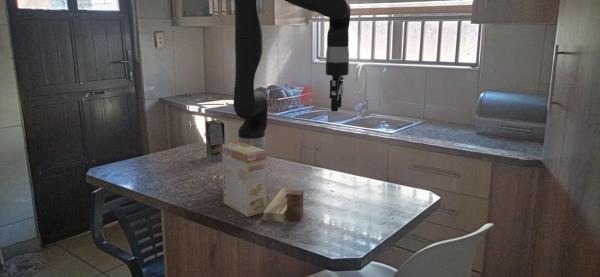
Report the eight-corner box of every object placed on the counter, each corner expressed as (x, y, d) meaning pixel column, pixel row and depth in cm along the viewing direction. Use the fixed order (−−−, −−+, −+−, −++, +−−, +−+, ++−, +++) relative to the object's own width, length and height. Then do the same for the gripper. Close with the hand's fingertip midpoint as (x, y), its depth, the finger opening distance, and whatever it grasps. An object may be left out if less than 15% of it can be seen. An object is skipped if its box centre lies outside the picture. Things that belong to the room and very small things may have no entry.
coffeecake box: (267, 212, 146) (266, 150, 142) (247, 217, 142) (245, 153, 138) (242, 198, 158) (240, 140, 153) (222, 203, 153) (220, 143, 149)
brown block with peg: (283, 219, 141) (283, 193, 139) (287, 214, 145) (287, 189, 143) (300, 220, 140) (300, 194, 138) (303, 215, 144) (303, 190, 142)
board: (263, 220, 140) (263, 211, 139) (282, 195, 161) (282, 187, 160) (283, 222, 139) (283, 213, 138) (299, 196, 160) (299, 189, 159)
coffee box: (225, 161, 202) (224, 123, 199) (210, 162, 200) (209, 124, 196) (221, 155, 211) (219, 119, 207) (206, 157, 208) (205, 120, 205)
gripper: (329, 59, 166) (328, 105, 169) (322, 61, 152) (321, 112, 156) (351, 59, 164) (349, 106, 168) (346, 62, 151) (344, 113, 154)
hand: (336, 109), depth 162 cm, fingers open, 8 cm apart
